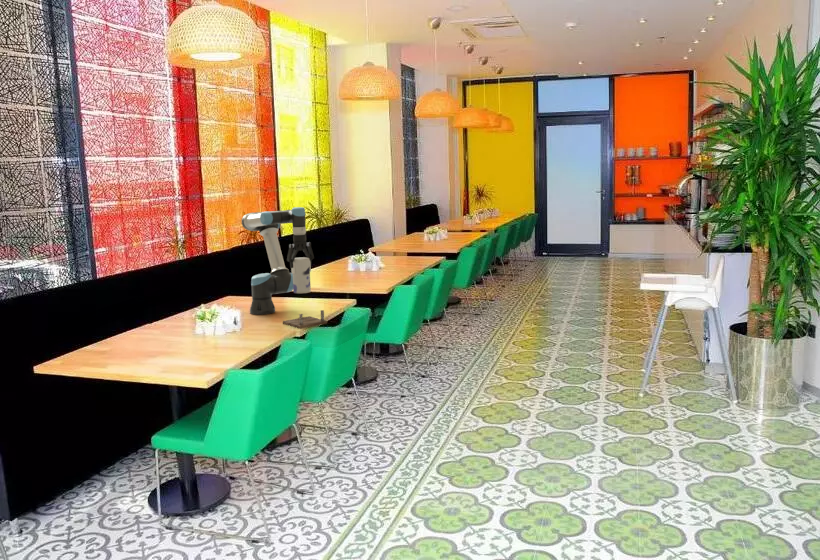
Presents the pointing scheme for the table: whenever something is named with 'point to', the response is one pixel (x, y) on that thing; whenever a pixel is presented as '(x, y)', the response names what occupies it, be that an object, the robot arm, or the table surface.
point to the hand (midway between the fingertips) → (301, 272)
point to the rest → (306, 321)
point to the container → (301, 275)
